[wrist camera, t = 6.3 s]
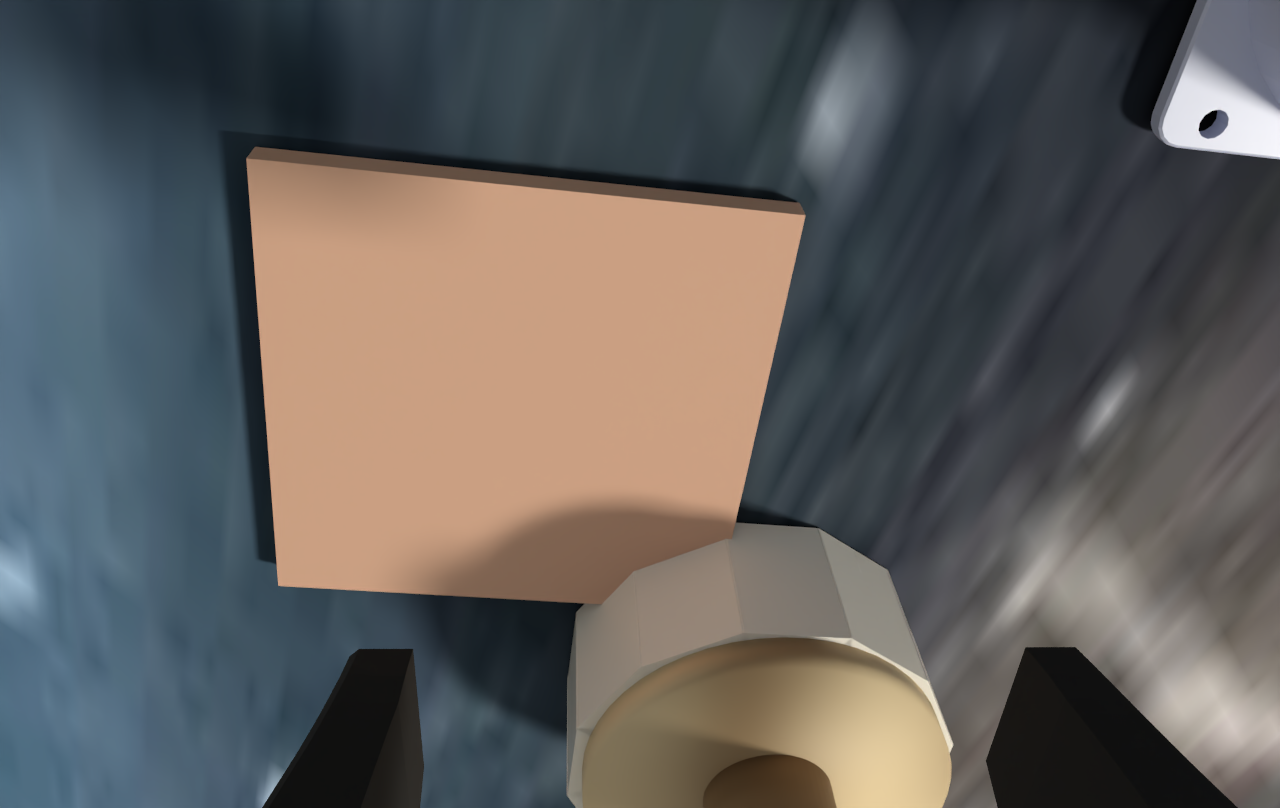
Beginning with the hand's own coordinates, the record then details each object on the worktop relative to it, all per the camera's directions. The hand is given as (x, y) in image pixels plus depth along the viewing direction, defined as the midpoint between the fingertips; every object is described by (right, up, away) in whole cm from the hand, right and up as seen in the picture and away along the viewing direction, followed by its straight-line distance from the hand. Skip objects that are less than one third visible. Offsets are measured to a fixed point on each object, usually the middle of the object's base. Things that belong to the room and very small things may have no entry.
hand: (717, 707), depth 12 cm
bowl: (+2, -3, +14) cm, 14 cm away
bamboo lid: (+2, -4, +11) cm, 12 cm away
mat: (-4, +4, +10) cm, 11 cm away
